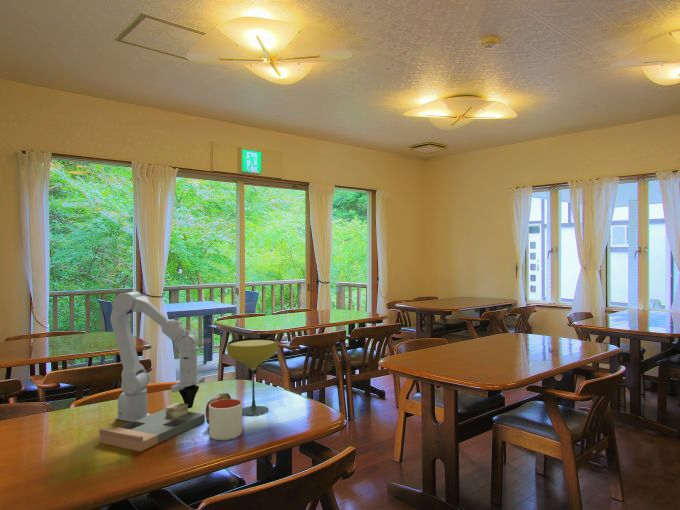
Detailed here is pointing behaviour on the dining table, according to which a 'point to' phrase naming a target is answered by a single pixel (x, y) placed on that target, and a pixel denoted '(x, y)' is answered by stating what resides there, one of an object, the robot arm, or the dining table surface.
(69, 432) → the dining table surface
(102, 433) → the board
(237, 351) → the cocktail glass
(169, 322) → the robot arm
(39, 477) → the dining table surface
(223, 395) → the tin
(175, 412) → the beech block
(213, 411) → the cup
